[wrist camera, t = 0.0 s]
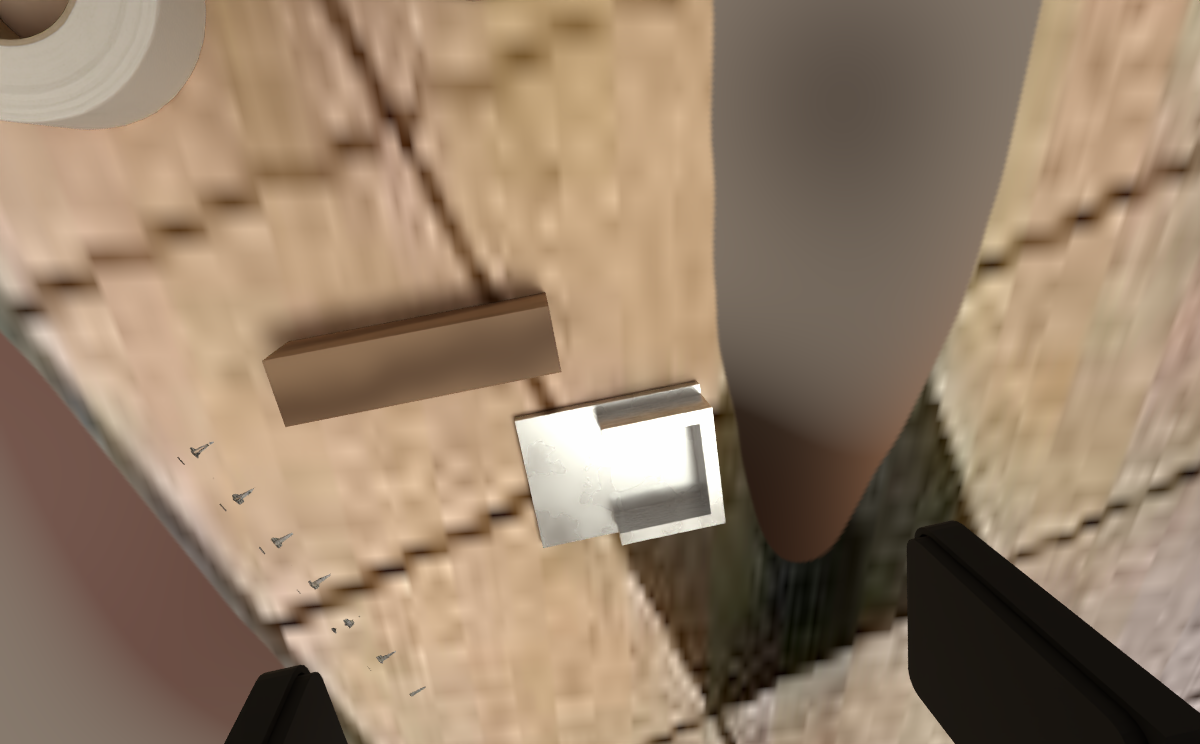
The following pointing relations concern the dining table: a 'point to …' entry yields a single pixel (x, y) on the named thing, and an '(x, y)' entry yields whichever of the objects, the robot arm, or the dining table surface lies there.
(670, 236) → the dining table surface
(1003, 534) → the dining table surface
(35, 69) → the roll of tape
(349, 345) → the walnut rail
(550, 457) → the cup bracket
